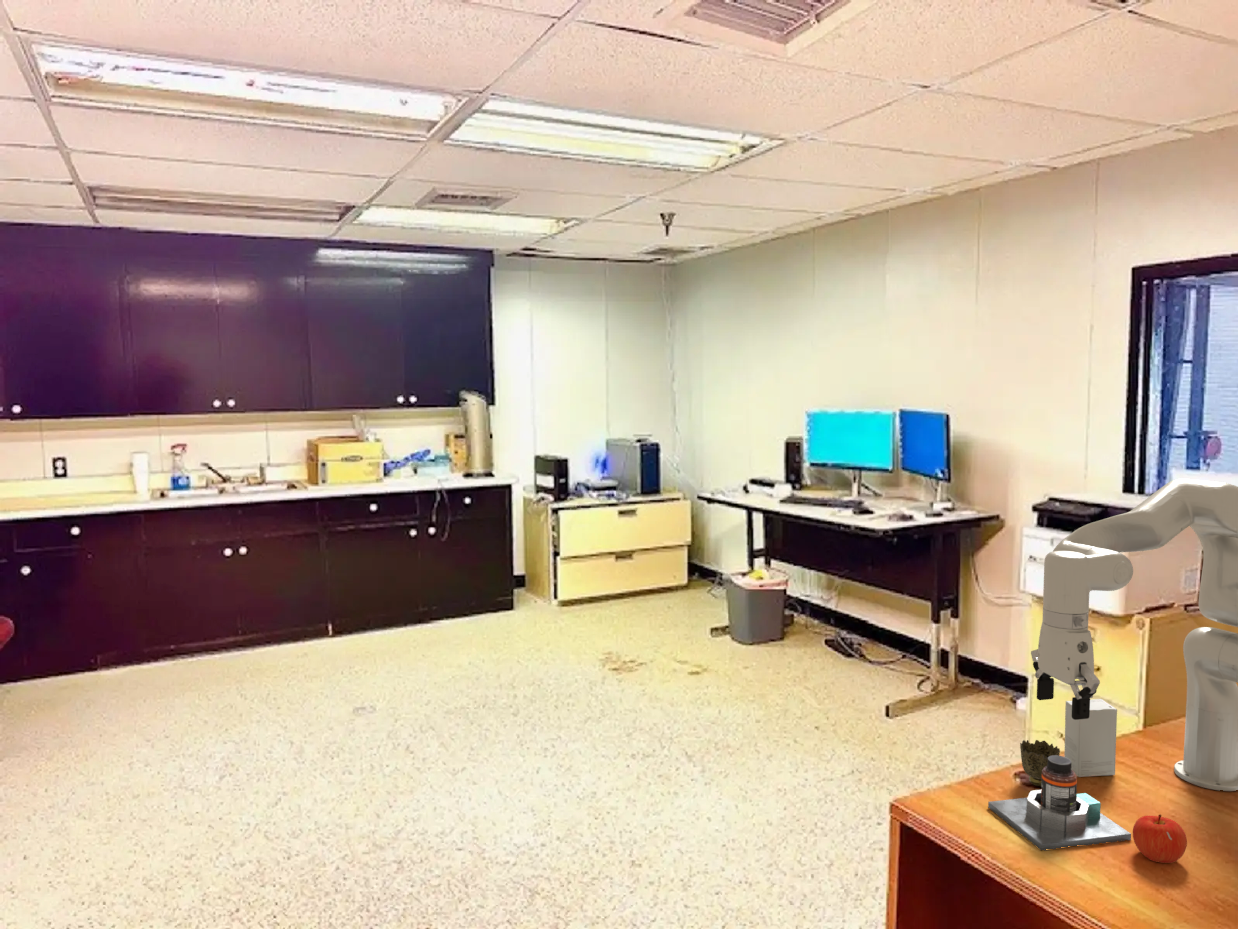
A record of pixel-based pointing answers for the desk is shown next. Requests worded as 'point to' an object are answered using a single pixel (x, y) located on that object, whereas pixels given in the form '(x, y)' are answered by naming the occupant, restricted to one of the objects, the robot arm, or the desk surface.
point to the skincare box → (1091, 740)
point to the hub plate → (1056, 836)
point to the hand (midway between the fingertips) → (1062, 708)
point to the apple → (1159, 838)
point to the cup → (1036, 758)
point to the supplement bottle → (1059, 785)
